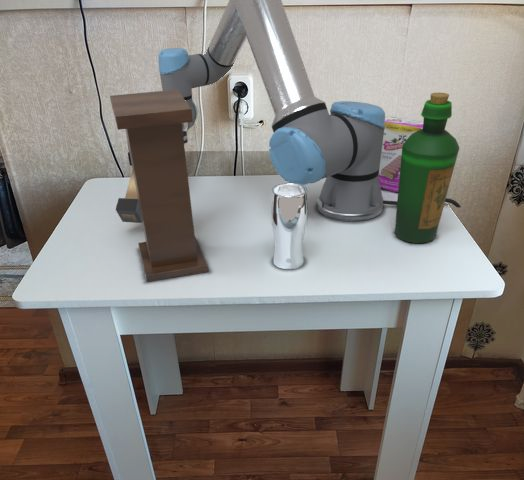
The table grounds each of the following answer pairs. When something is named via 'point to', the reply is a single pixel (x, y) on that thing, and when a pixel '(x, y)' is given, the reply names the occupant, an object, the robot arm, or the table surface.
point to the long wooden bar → (129, 204)
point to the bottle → (426, 173)
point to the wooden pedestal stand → (161, 181)
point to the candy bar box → (394, 150)
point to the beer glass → (289, 223)
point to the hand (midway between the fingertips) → (138, 159)
